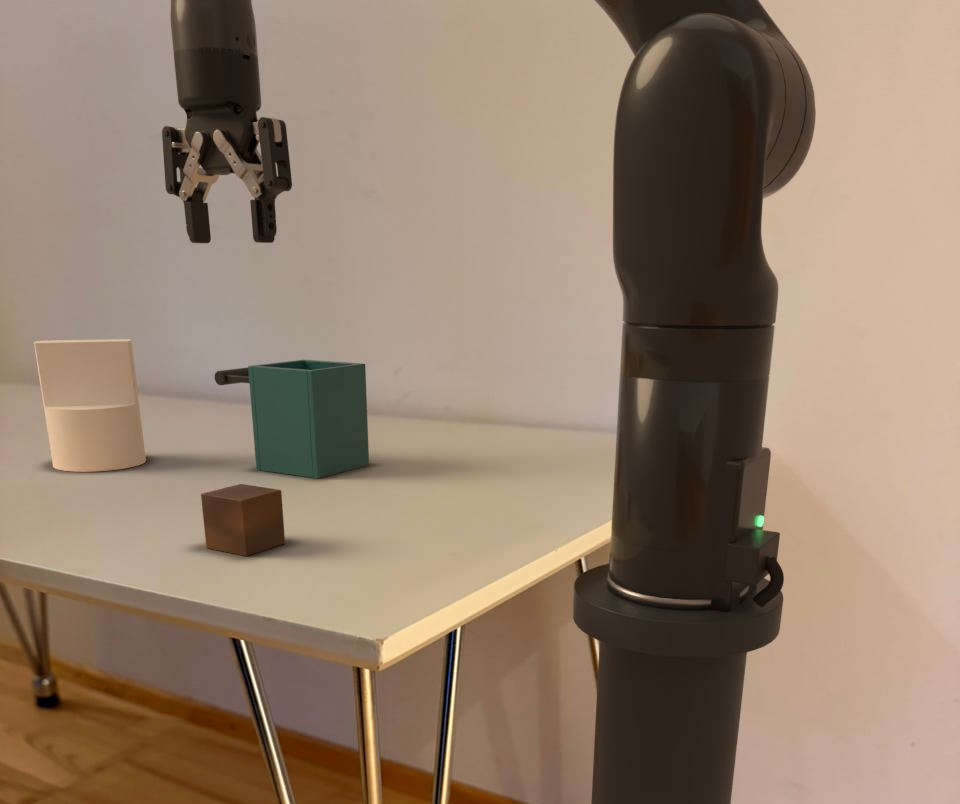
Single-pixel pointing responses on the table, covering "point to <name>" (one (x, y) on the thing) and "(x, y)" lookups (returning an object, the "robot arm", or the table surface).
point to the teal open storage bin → (306, 415)
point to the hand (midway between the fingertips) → (231, 242)
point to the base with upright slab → (91, 404)
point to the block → (243, 519)
